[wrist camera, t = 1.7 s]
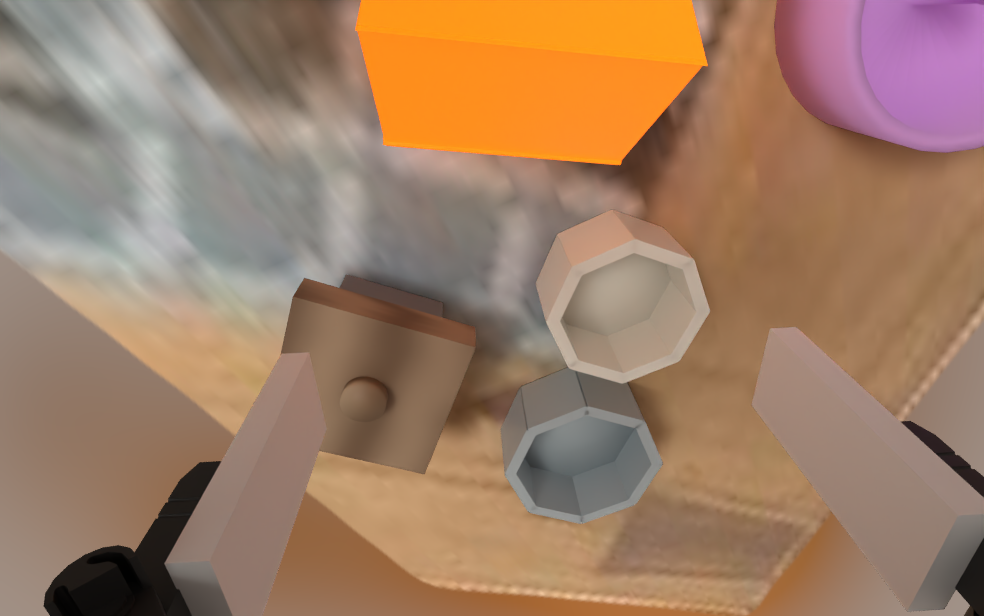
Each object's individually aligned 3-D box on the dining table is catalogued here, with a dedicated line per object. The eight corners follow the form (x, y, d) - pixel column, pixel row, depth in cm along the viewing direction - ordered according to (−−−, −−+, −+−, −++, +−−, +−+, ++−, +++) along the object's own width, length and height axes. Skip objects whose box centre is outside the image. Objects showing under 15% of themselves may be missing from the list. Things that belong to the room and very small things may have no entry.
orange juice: (559, 110, 33) (672, 216, 15) (413, 97, 32) (352, 192, 14) (581, -42, 29) (764, -137, 11) (417, -61, 28) (341, -195, 11)
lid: (274, 413, 37) (257, 448, 34) (304, 278, 33) (288, 304, 30) (426, 449, 40) (423, 485, 37) (475, 326, 35) (476, 356, 32)
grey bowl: (487, 457, 46) (489, 504, 41) (535, 354, 41) (544, 394, 37) (603, 484, 48) (617, 531, 43) (661, 389, 43) (684, 431, 39)
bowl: (521, 316, 39) (529, 357, 34) (573, 195, 35) (591, 224, 30) (636, 350, 41) (659, 394, 36) (698, 239, 37) (734, 272, 32)
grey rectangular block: (319, 376, 41) (306, 409, 37) (345, 274, 37) (333, 301, 34) (408, 398, 42) (403, 432, 39) (443, 302, 38) (441, 331, 35)
